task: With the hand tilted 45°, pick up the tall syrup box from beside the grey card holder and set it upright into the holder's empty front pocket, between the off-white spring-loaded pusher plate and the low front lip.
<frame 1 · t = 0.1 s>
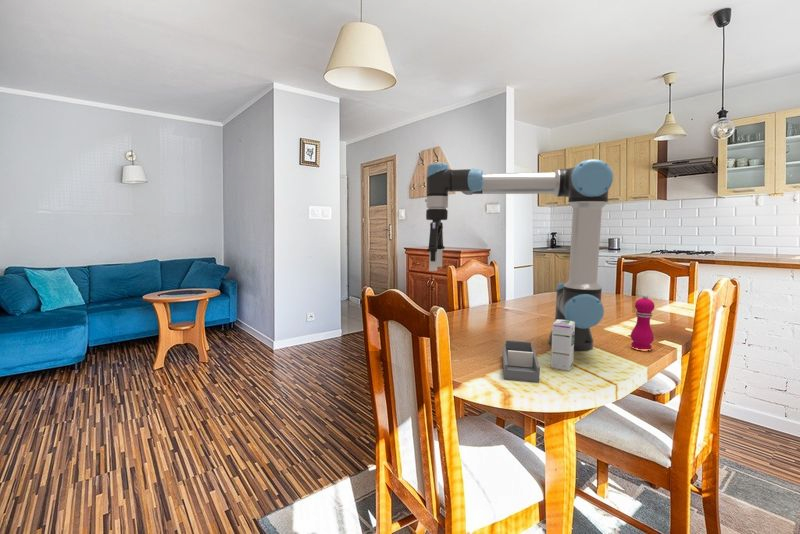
hand: (435, 268, 146), 28 cm above the table, tool pointing down, fingers open, 13 cm apart
syrup box: (561, 367, 128), on the table
grey card holder: (519, 368, 126), on the table
pepper mill: (641, 349, 147), on the table
pusher: (519, 356, 127), point 3 cm above the table, slide at 0.0 cm
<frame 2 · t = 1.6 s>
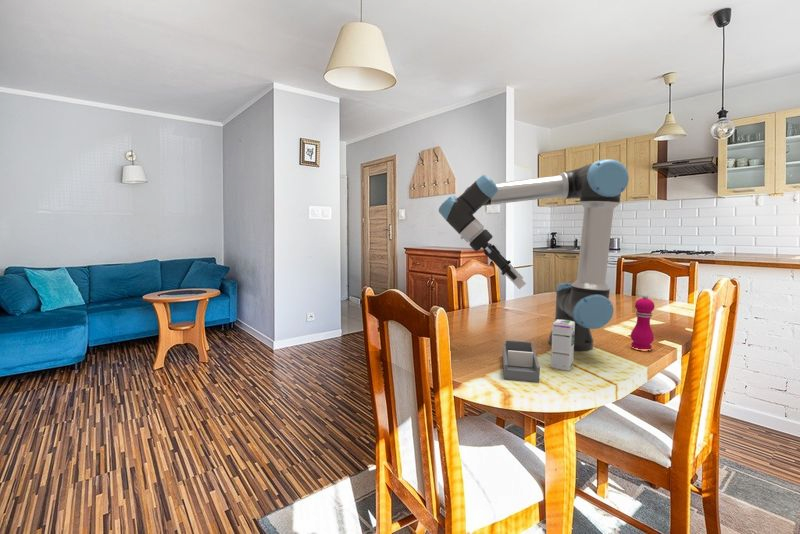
hand: (521, 283, 133), 25 cm above the table, tool tilted 45°, fingers open, 13 cm apart
nothing on the table moved.
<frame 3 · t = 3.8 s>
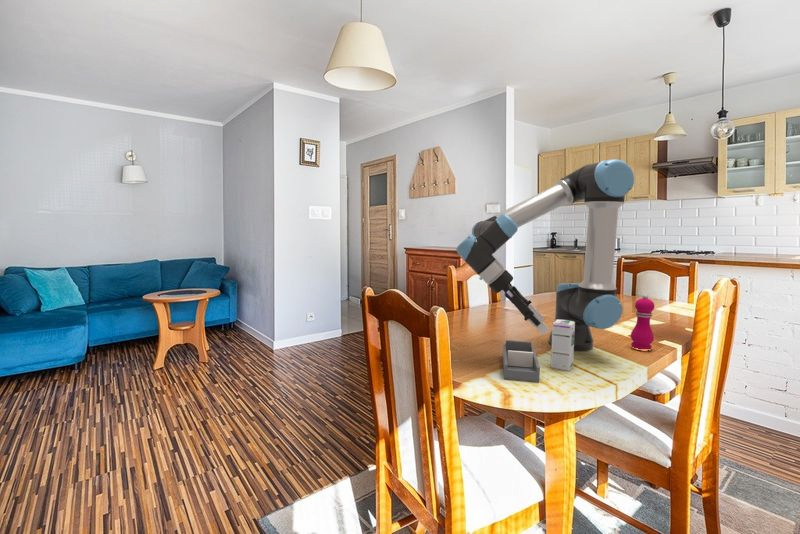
hand: (543, 326, 127), 12 cm above the table, tool tilted 45°, fingers open, 13 cm apart
nothing on the table moved.
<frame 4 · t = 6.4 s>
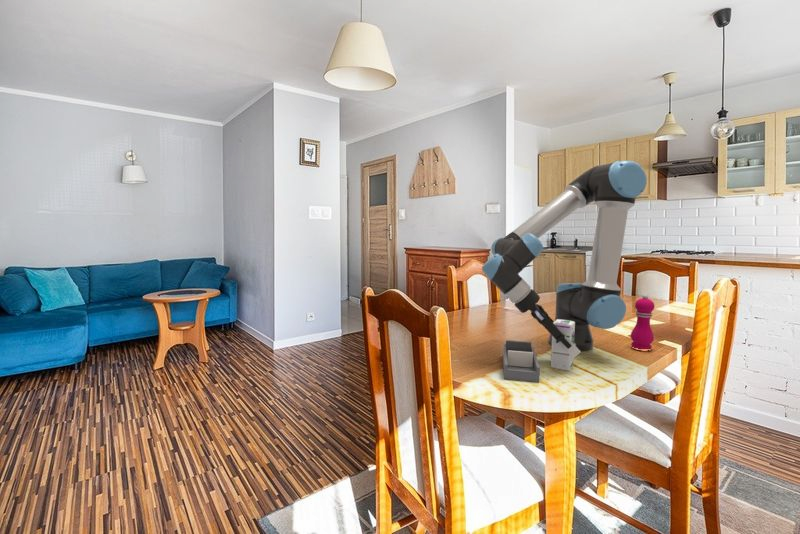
hand: (574, 350, 126), 6 cm above the table, tool tilted 45°, fingers closed on syrup box, 7 cm apart
syrup box: (561, 367, 128), on the table, touching gripper
everything else where it was.
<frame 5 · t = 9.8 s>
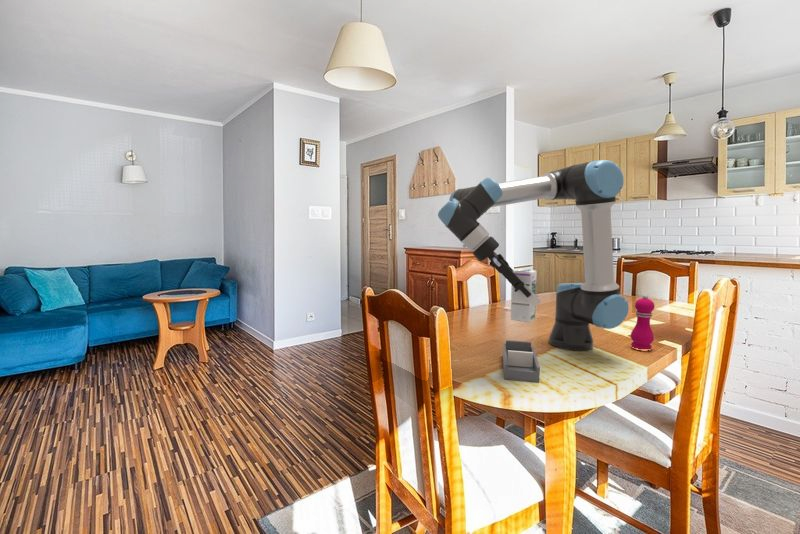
hand: (536, 301, 118), 22 cm above the table, tool tilted 45°, fingers closed on syrup box, 7 cm apart
syrup box: (522, 320, 119), point 16 cm above the table, touching gripper
everything else where it was.
when the fingers open (7 cm above the table, at t = 13.5 s): syrup box drops 1 cm, resting on grey card holder.
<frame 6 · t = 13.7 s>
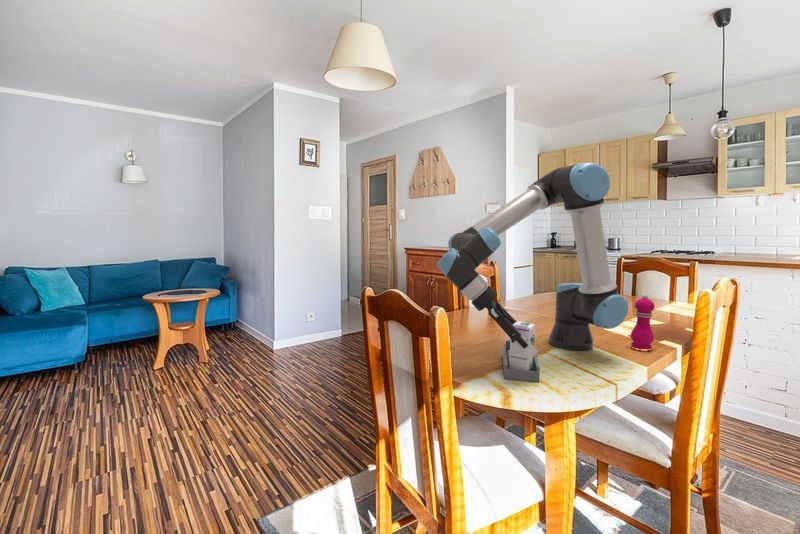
hand: (532, 349, 119), 8 cm above the table, tool tilted 45°, fingers open, 9 cm apart
syrup box: (520, 372, 121), point 1 cm above the table, touching grey card holder
everything else where it was.
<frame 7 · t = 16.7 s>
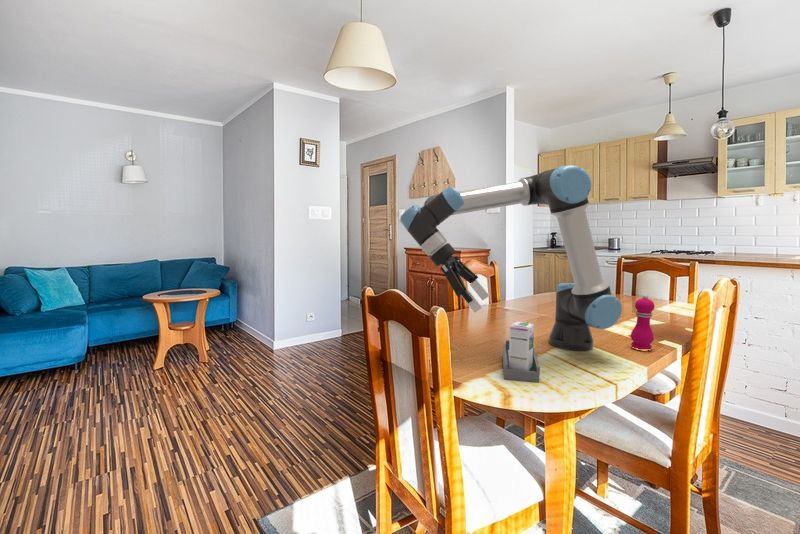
hand: (482, 303, 124), 20 cm above the table, tool tilted 40°, fingers open, 13 cm apart
nothing on the table moved.
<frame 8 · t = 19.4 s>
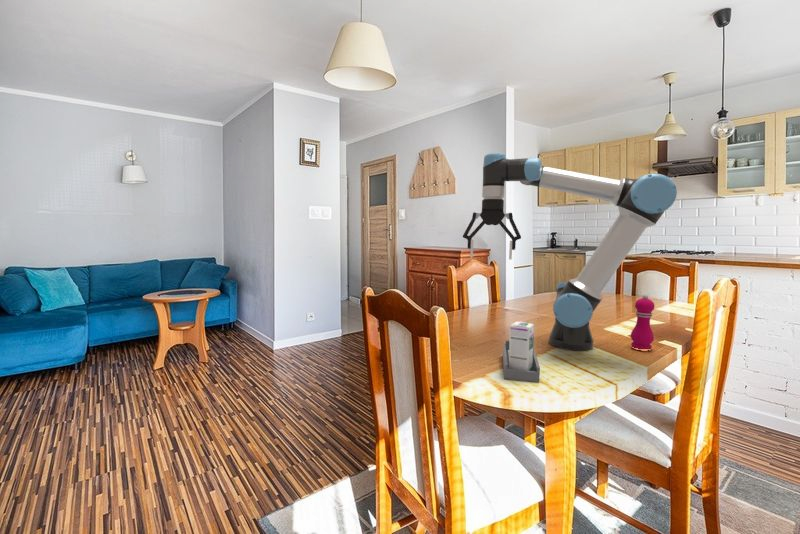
hand: (490, 258, 147), 32 cm above the table, tool pointing down, fingers open, 13 cm apart
nothing on the table moved.
at the end: syrup box 0.1 cm from the target spot on the grey card holder, point 0.6 cm above the grey card holder's base; syrup box tilted 0°; the gripper is holding nothing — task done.
